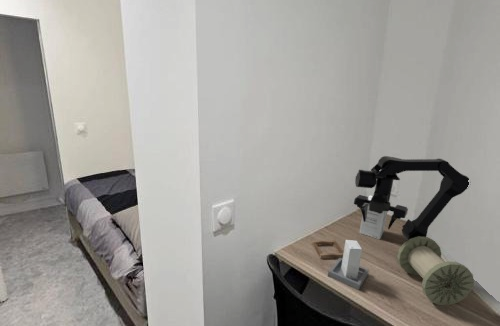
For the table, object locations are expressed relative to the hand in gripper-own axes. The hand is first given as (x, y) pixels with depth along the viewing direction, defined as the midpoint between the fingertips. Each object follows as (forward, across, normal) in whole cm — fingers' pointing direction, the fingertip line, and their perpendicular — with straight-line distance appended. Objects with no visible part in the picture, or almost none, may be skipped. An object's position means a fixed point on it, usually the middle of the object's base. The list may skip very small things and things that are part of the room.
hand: (376, 225), depth 111 cm
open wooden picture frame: (+13, -14, -10) cm, 22 cm away
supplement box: (+13, -5, +19) cm, 24 cm away
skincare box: (+13, -2, -20) cm, 24 cm away
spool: (+13, +21, -8) cm, 26 cm away
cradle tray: (+13, -2, -21) cm, 24 cm away
